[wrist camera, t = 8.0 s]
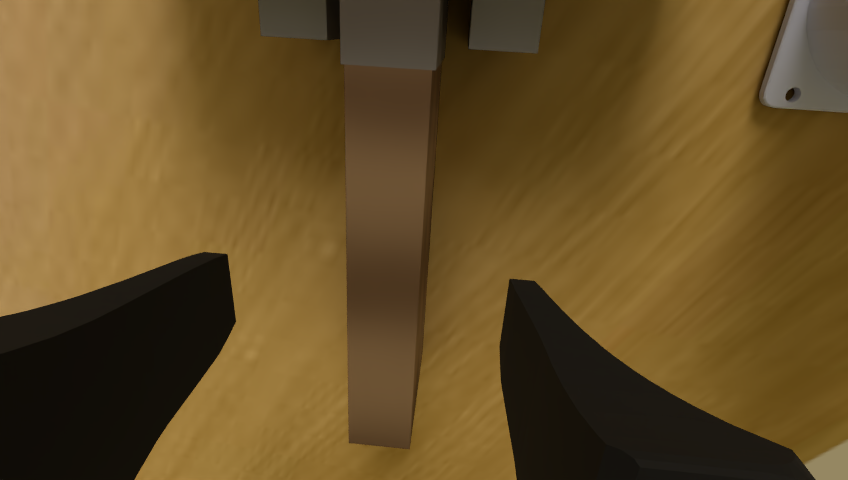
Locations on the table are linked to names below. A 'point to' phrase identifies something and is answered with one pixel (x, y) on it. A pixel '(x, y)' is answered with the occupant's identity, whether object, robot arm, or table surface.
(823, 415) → the table surface
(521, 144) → the table surface
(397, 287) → the rail
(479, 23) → the cream rectangular block
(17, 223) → the table surface
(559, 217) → the table surface
